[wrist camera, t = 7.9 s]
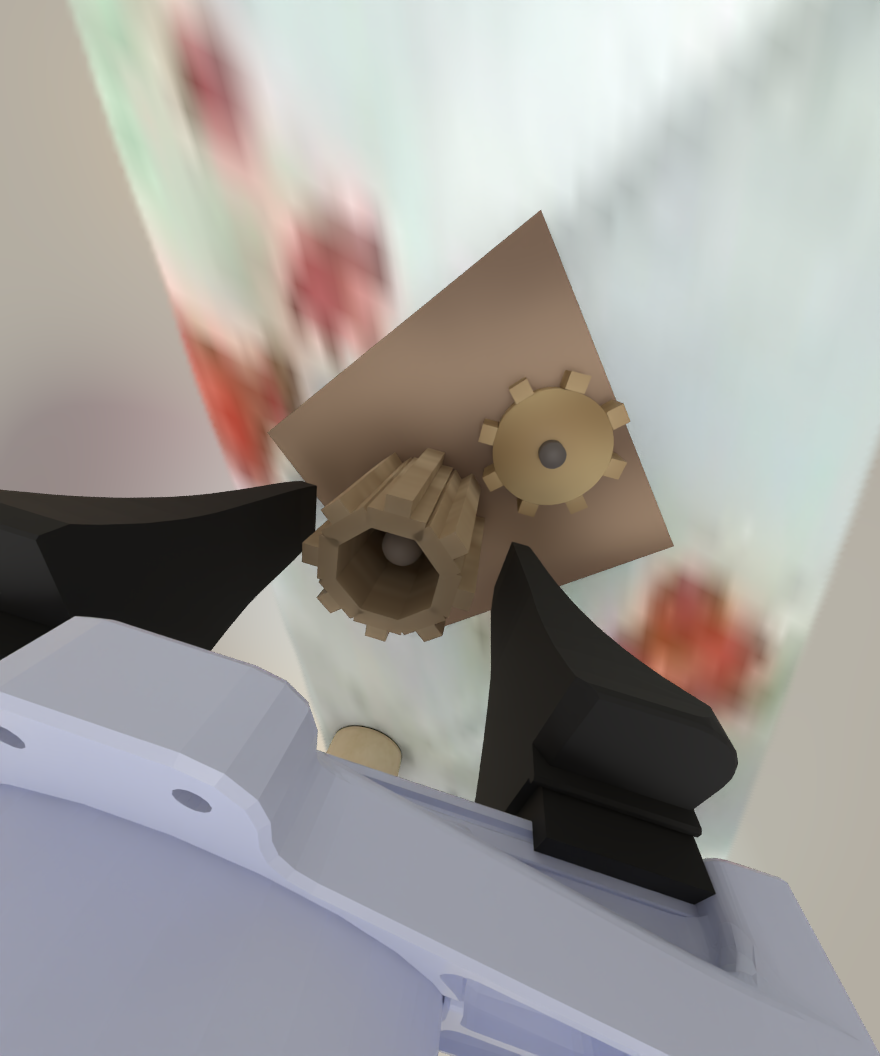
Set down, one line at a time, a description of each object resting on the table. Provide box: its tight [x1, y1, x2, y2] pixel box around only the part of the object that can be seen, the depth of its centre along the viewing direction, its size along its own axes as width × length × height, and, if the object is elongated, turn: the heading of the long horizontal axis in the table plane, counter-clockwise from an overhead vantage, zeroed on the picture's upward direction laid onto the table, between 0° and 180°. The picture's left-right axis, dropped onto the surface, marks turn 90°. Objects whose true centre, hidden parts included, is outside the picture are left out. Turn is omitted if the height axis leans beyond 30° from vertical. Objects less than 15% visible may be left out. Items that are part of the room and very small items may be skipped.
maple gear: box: [302, 448, 485, 642], centre depth 12 cm, size 5×5×5 cm
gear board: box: [268, 210, 674, 626], centre depth 12 cm, size 12×12×5 cm
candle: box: [327, 726, 401, 776], centre depth 21 cm, size 6×6×10 cm
